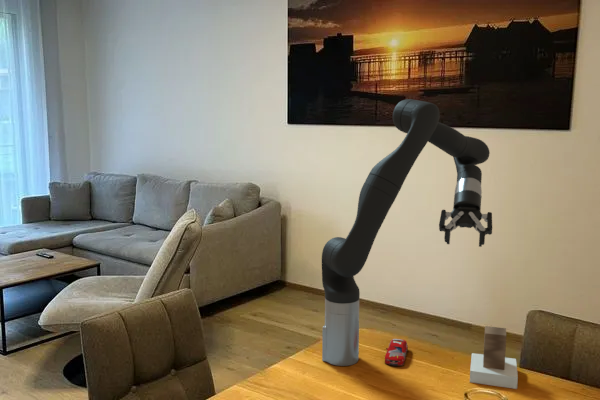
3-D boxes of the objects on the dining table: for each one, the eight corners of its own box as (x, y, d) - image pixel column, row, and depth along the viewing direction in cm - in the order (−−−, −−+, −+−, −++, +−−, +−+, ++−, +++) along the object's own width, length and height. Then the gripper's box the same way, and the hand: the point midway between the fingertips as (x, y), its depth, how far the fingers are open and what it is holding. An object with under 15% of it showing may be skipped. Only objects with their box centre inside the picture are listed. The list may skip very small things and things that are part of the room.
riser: (469, 382, 138) (470, 370, 137) (471, 363, 148) (471, 353, 148) (517, 389, 134) (517, 377, 134) (515, 369, 145) (516, 358, 144)
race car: (403, 369, 145) (403, 355, 145) (382, 366, 147) (382, 352, 146) (409, 349, 158) (410, 336, 157) (390, 347, 159) (390, 333, 159)
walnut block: (483, 367, 139) (484, 333, 138) (483, 359, 144) (485, 326, 143) (504, 370, 138) (506, 335, 136) (503, 361, 142) (505, 328, 141)
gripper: (442, 188, 161) (436, 234, 152) (494, 190, 156) (492, 238, 147) (442, 203, 166) (438, 249, 157) (493, 205, 162) (491, 253, 153)
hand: (464, 244), depth 152 cm, fingers open, 8 cm apart
